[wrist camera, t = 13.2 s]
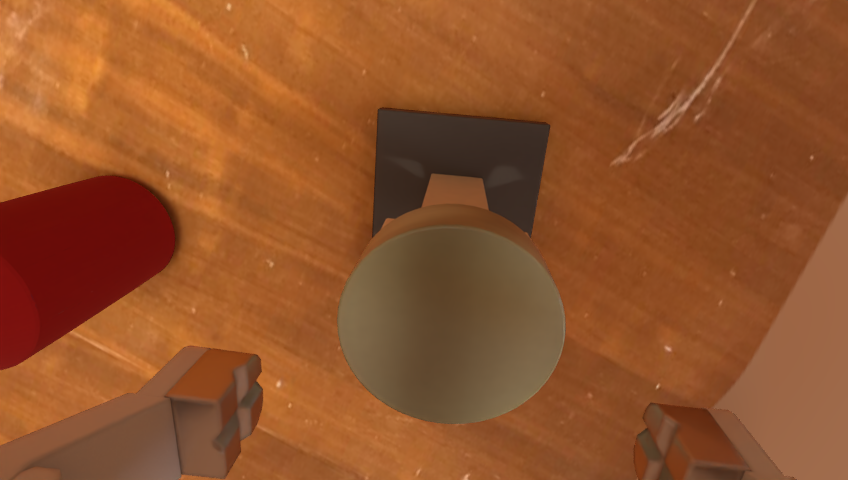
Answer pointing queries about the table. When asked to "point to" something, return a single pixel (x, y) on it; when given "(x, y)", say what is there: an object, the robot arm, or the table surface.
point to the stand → (457, 164)
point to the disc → (451, 315)
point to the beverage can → (74, 257)
